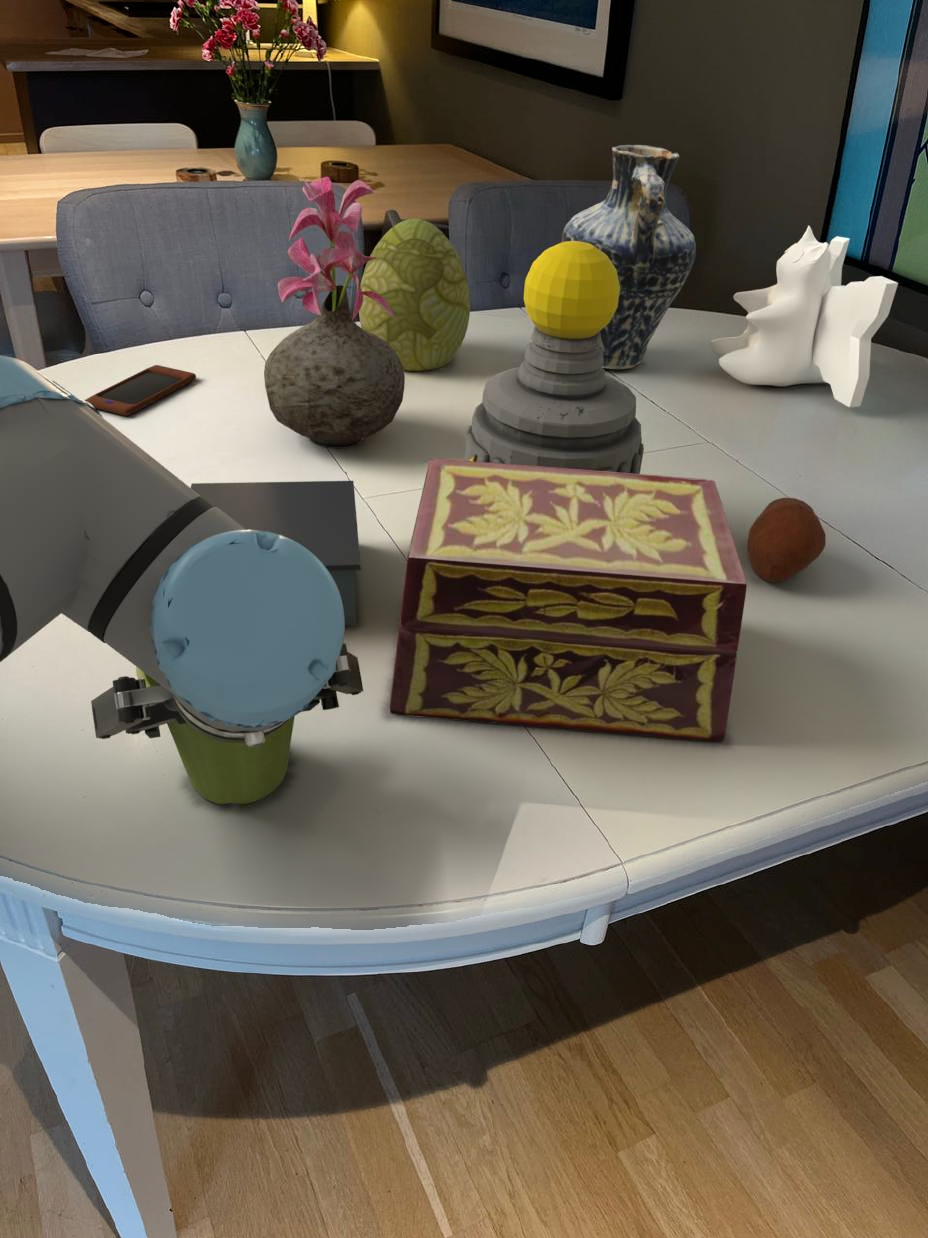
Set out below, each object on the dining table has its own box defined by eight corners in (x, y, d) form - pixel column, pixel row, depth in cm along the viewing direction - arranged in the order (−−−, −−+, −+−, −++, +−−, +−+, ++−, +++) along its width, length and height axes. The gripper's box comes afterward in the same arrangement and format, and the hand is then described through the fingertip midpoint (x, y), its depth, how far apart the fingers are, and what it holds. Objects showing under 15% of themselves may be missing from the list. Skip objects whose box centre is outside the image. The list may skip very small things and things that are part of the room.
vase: (245, 450, 117) (221, 186, 99) (309, 399, 130) (298, 159, 113) (372, 476, 113) (370, 206, 95) (424, 421, 127) (431, 176, 109)
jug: (536, 338, 155) (556, 133, 138) (649, 337, 158) (682, 137, 141) (570, 387, 138) (597, 162, 121) (696, 385, 142) (740, 165, 124)
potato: (813, 547, 104) (833, 482, 100) (816, 604, 95) (839, 535, 91) (742, 535, 106) (758, 470, 101) (739, 590, 97) (757, 521, 92)
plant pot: (125, 808, 69) (99, 688, 62) (209, 707, 78) (193, 593, 72) (275, 851, 66) (264, 730, 60) (342, 742, 76) (339, 627, 69)
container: (183, 635, 86) (173, 570, 82) (199, 543, 99) (191, 483, 95) (361, 628, 88) (360, 564, 84) (354, 539, 101) (353, 480, 97)
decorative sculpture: (412, 387, 136) (414, 240, 124) (337, 355, 144) (332, 215, 133) (489, 361, 146) (498, 223, 134) (414, 332, 154) (417, 200, 143)
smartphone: (81, 399, 124) (155, 363, 136) (83, 406, 125) (156, 369, 136) (126, 410, 122) (197, 372, 133) (127, 417, 123) (197, 379, 134)
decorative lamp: (437, 495, 110) (448, 220, 92) (586, 477, 115) (622, 214, 98) (495, 583, 95) (520, 276, 78) (661, 557, 101) (719, 266, 84)
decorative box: (696, 613, 93) (728, 474, 84) (725, 744, 78) (768, 591, 69) (414, 591, 94) (417, 450, 85) (388, 716, 78) (388, 560, 70)
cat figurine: (696, 347, 156) (723, 208, 143) (826, 355, 155) (865, 217, 143) (723, 408, 135) (758, 252, 123) (874, 417, 135) (923, 263, 123)
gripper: (17, 781, 47) (74, 786, 68) (457, 701, 54) (385, 728, 75) (-3, 633, 48) (60, 682, 69) (432, 572, 55) (368, 634, 76)
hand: (229, 706), depth 72 cm, fingers closed on plant pot, 10 cm apart
